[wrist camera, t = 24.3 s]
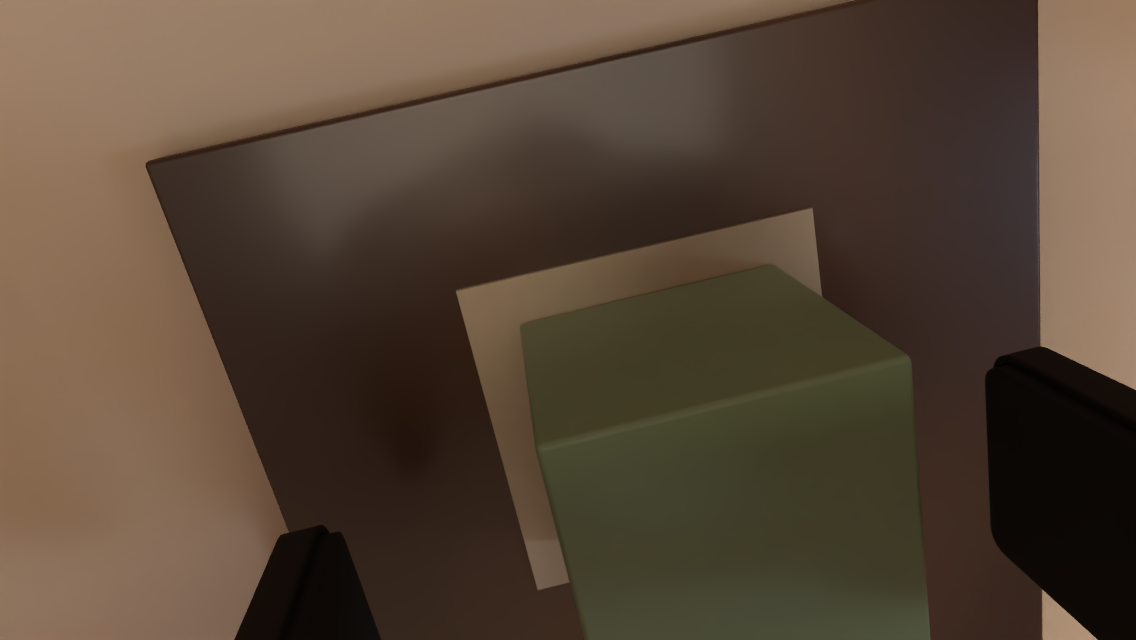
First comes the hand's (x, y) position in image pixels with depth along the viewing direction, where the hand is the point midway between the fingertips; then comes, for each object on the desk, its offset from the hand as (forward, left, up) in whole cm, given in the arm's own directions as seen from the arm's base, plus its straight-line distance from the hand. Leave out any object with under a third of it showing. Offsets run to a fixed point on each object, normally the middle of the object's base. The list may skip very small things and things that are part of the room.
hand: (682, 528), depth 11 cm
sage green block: (+1, 0, -3) cm, 3 cm away
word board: (+1, -5, -4) cm, 6 cm away
